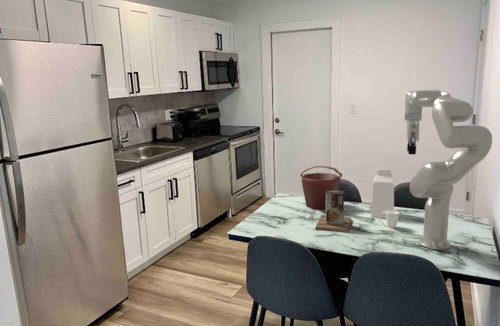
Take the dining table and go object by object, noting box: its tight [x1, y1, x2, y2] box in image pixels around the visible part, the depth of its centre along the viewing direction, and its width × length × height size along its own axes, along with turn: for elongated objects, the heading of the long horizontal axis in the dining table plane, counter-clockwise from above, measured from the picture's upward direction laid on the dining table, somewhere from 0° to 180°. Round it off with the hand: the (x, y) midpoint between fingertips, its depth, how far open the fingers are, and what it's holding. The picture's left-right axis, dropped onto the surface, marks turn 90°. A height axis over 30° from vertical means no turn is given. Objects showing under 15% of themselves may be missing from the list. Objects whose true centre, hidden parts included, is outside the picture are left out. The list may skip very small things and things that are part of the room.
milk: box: [370, 168, 395, 219], centre depth 213 cm, size 12×12×26 cm
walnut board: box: [315, 214, 352, 233], centre depth 201 cm, size 20×16×2 cm
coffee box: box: [325, 190, 345, 224], centre depth 199 cm, size 9×6×16 cm
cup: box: [378, 209, 400, 230], centre depth 195 cm, size 7×10×8 cm
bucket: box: [300, 165, 343, 211], centre depth 233 cm, size 24×22×25 cm
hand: (411, 152), depth 187 cm, fingers open, 9 cm apart
